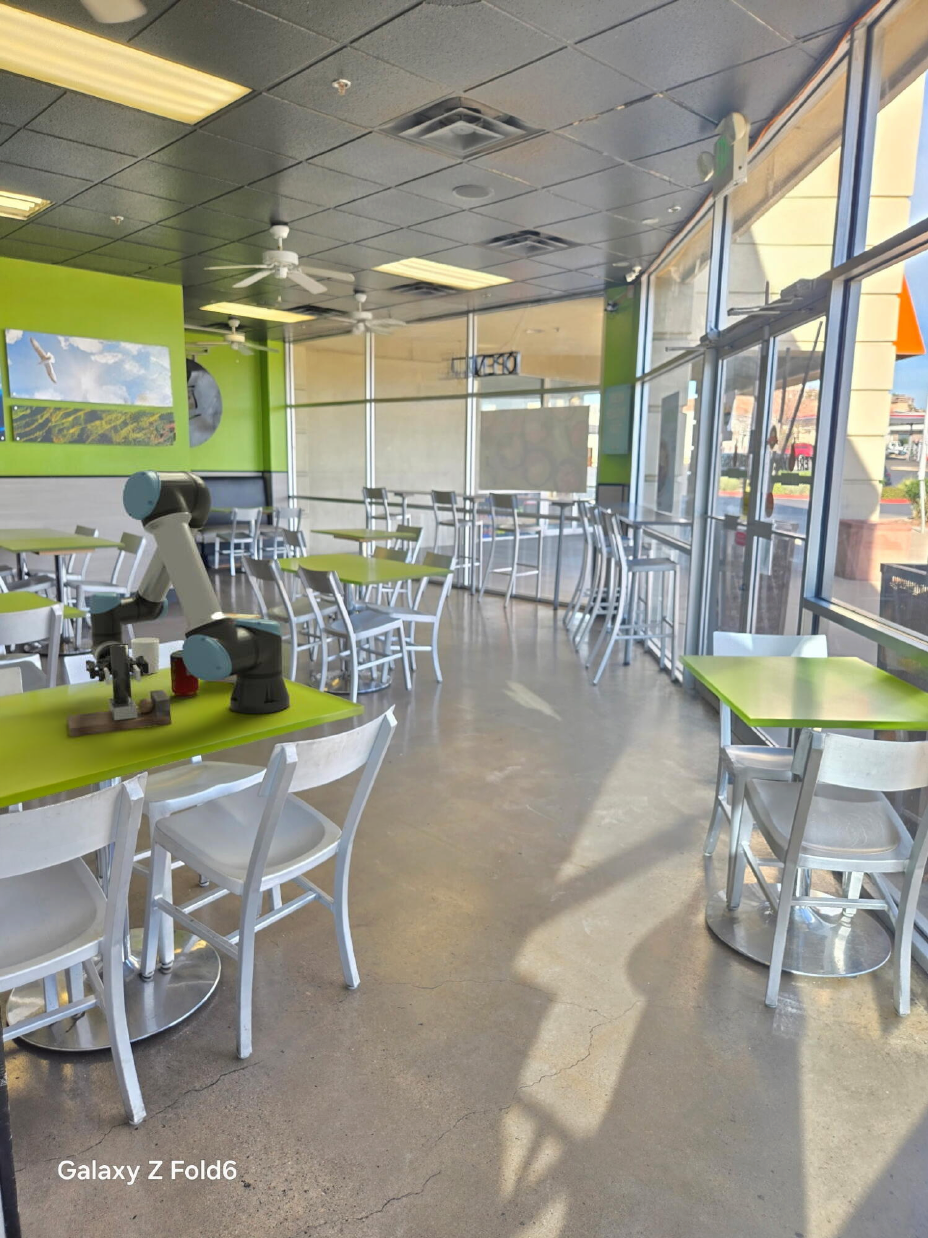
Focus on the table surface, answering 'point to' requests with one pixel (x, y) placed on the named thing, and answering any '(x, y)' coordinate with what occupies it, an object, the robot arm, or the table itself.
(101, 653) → the robot arm
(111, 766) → the table surface
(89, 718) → the nutcracker bench
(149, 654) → the white cup
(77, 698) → the table surface
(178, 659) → the soda can
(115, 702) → the post
